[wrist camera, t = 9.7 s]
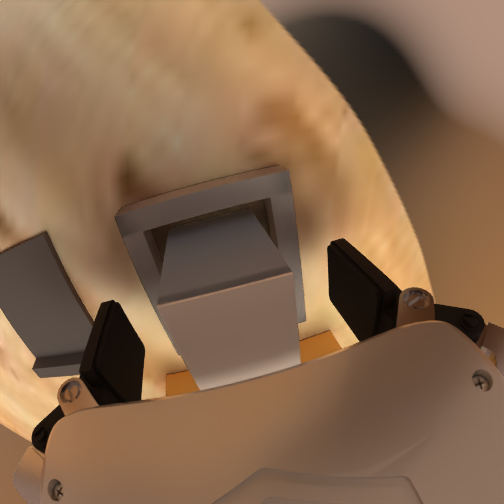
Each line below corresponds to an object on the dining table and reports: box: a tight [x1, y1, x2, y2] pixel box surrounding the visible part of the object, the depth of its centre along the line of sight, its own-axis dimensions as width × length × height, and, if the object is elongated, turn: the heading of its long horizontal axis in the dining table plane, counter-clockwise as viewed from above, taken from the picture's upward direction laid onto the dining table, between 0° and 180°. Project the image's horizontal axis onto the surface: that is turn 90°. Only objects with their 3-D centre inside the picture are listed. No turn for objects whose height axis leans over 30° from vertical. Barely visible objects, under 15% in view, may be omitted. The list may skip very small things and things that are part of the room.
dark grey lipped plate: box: [0, 232, 94, 378], centre depth 12 cm, size 9×7×2 cm
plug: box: [157, 209, 301, 390], centre depth 11 cm, size 5×4×6 cm
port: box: [115, 165, 342, 397], centre depth 12 cm, size 13×12×7 cm
